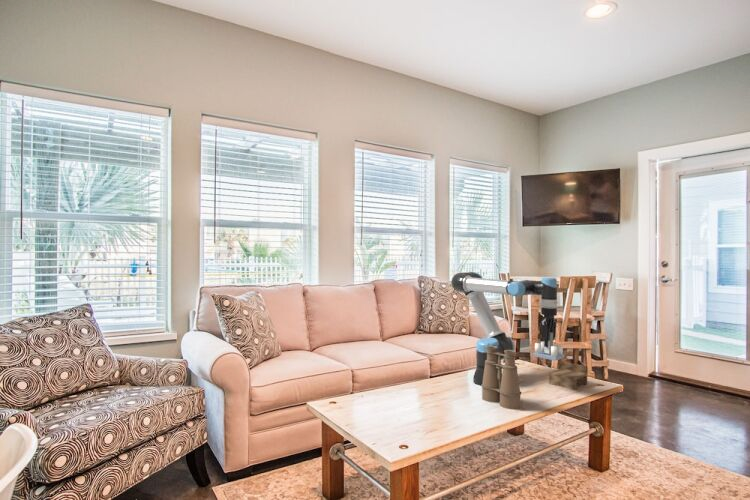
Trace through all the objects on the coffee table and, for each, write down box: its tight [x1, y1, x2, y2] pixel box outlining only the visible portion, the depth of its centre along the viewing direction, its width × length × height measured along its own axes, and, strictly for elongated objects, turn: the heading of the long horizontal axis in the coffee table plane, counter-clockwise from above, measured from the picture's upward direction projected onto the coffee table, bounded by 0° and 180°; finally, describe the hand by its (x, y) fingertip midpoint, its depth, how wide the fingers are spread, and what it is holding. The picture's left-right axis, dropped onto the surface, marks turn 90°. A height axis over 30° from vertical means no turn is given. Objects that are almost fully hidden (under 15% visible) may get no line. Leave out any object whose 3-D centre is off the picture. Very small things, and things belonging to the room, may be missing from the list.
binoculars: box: [480, 346, 522, 410], centre depth 197 cm, size 21×10×25 cm, turn 34°
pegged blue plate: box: [532, 332, 565, 362], centre depth 217 cm, size 12×10×12 cm
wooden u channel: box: [548, 361, 588, 391], centre depth 226 cm, size 14×15×10 cm
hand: (548, 352), depth 217 cm, fingers closed on pegged blue plate, 3 cm apart
